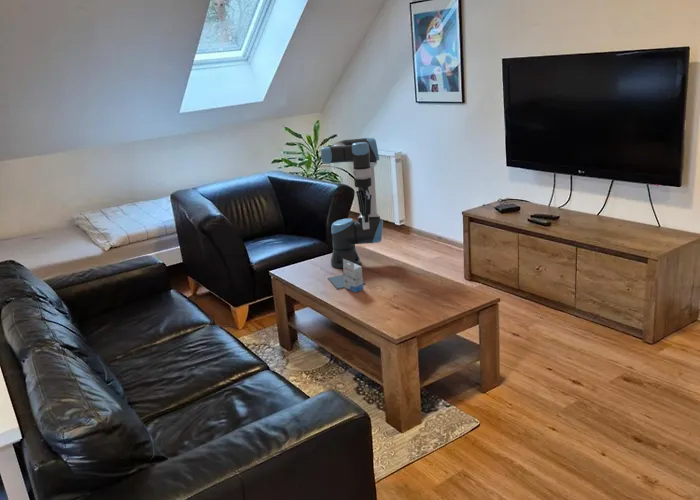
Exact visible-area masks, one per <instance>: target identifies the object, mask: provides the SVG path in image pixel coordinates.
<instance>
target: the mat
mask: <svg viewBox="0 0 700 500" xmlns="http://www.w3.org/2000/svg"><path fill="white" fill-rule="evenodd" d="M326 278H327V280H328V281H329V282H330V283H331V284H332V285H333V287H334V288H335V289H336V290H341V289H346V288H345V287H344V274H342V275H341V274H340V275H335V276H331V277H330V276H329V277H326ZM363 285H366V282H365V281H364V280H363Z"/></svg>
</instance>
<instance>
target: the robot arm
mask: <svg viewBox="0 0 700 500" xmlns="http://www.w3.org/2000/svg"><path fill="white" fill-rule="evenodd" d="M320 154H321V155H320V156H321V157H320V158H321V163H322V164H337V163H352V165H353V171H352V174H353V177H354V187H355V188H356V189H357V191H356V192H355V193H356V197H357V204H358V210H359V215H358V217H357V221H355V220H354V219H353V218H343V219H337V220H336V221H333V222H332V224H331V226H330V227H331V230H330V231H331V232H330V233H331V240H332V242H331V243H332V254H331V258H330V265H331V267H333V268H336V269H343V259H345V260H348V261H350V262H352V263H354V264H357V265H359V264H360V263H361V262H360V256H359V254H358V251H357V249H356V245H364V244H365V245H367V244H377V243H380V242H382V239H383V230H384V229H383V228H384V221H383V219H381V216H380V215H379V214H378V212H377V211H378V209H377V195H376V194H377V193H376V180H375V179H376V178H375V176H376V175H375V167H376V166H377V164H378V161H380V155H379V151H378V146H377V140H376V139H375V138H373V137H372V138H370V137H365V138H354V139H353V138H352V139H344V140H340V141H337V142H334V143H332V144H331V146H323V147H321V149H320Z"/></svg>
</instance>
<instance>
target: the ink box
mask: <svg viewBox="0 0 700 500" xmlns="http://www.w3.org/2000/svg"><path fill="white" fill-rule="evenodd" d="M342 269H343V275H344V287H345V288H344V289H347V290H350V291H351V292H354V293H358V292H360V291H363V290H364V284H363V281H364V280H363V266H362V265H359V264H358V265H357V264H354V263H352V262H350V261H348V260H345V259H343V268H342Z"/></svg>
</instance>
